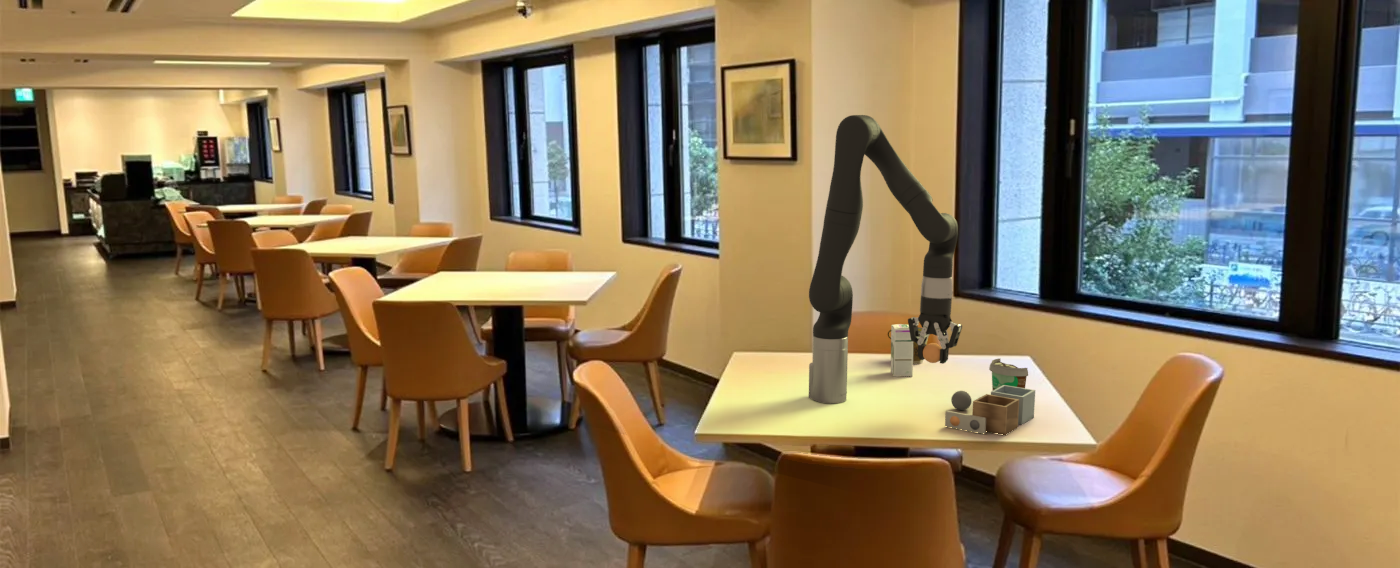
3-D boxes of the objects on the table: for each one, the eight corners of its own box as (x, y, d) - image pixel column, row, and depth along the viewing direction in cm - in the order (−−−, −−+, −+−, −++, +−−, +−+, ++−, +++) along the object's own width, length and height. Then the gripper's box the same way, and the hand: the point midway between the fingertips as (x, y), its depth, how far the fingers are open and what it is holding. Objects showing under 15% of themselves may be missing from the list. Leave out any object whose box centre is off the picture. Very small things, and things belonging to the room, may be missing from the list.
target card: (944, 427, 246) (945, 411, 245) (946, 426, 247) (946, 410, 246) (984, 434, 240) (985, 418, 239) (985, 434, 241) (986, 417, 240)
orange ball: (918, 362, 254) (919, 343, 253) (927, 359, 258) (928, 340, 257) (937, 366, 251) (938, 346, 250) (946, 362, 254) (947, 343, 254)
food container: (978, 395, 274) (979, 359, 272) (997, 393, 276) (999, 357, 274) (1007, 407, 263) (1009, 370, 261) (1026, 405, 265) (1028, 368, 263)
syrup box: (913, 376, 294) (914, 327, 292) (892, 376, 294) (894, 327, 292) (909, 372, 300) (911, 323, 297) (889, 372, 300) (890, 323, 297)
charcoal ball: (947, 410, 260) (948, 391, 259) (955, 406, 264) (956, 387, 263) (966, 413, 257) (967, 394, 256) (974, 409, 261) (975, 390, 260)
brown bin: (971, 429, 244) (973, 401, 243) (985, 421, 251) (986, 394, 250) (1004, 435, 239) (1006, 407, 238) (1017, 427, 246) (1019, 399, 245)
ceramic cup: (932, 360, 314) (933, 329, 312) (921, 367, 305) (922, 334, 304) (892, 355, 321) (893, 324, 319) (880, 361, 312) (881, 330, 311)
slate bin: (989, 418, 253) (990, 391, 252) (1002, 411, 259) (1003, 384, 258) (1021, 424, 248) (1023, 397, 247) (1033, 417, 254) (1035, 390, 253)
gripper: (903, 292, 252) (899, 359, 255) (957, 300, 244) (953, 368, 247) (916, 288, 258) (913, 354, 261) (970, 295, 250) (965, 363, 253)
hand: (932, 360), depth 254 cm, fingers closed on orange ball, 5 cm apart
